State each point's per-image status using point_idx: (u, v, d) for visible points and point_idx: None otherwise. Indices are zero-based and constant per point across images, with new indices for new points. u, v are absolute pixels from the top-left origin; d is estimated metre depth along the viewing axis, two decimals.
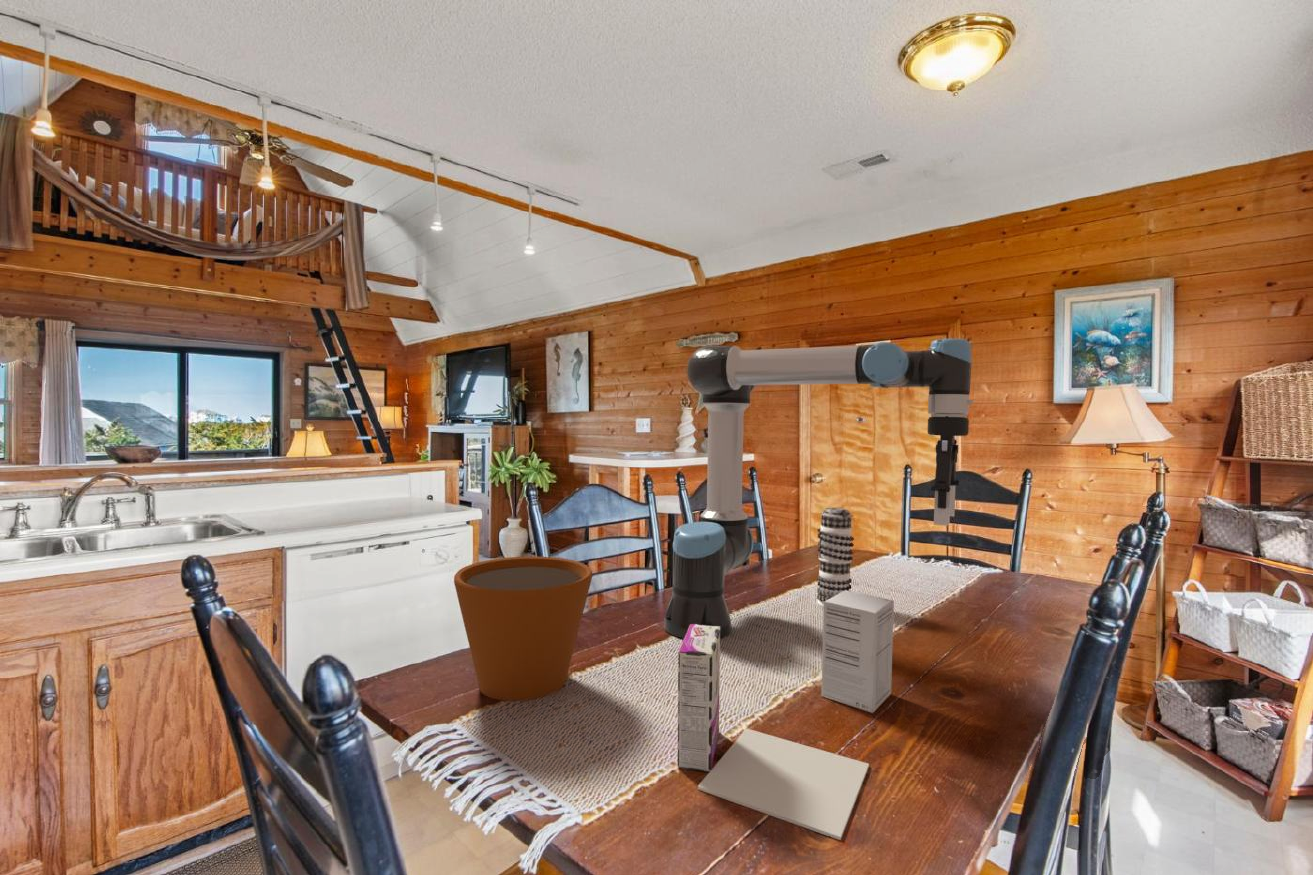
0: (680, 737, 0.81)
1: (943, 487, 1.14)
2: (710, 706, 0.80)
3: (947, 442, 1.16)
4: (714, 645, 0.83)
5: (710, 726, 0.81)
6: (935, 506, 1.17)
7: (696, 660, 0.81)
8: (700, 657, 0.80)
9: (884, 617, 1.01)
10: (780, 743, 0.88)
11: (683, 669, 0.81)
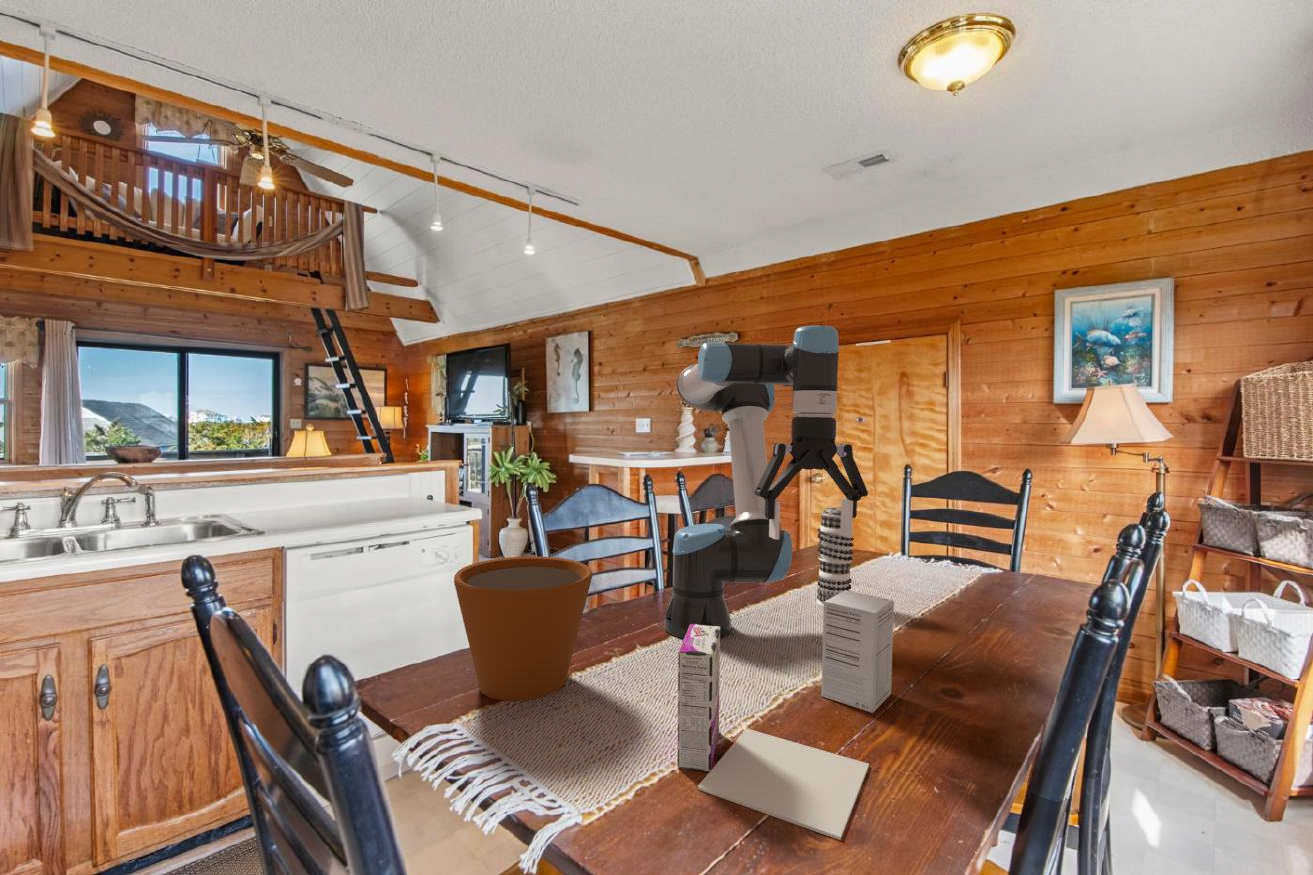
0: (680, 737, 0.81)
1: (758, 494, 1.03)
2: (710, 706, 0.80)
3: (778, 445, 1.03)
4: (714, 645, 0.83)
5: (710, 726, 0.81)
6: None
7: (696, 660, 0.81)
8: (700, 657, 0.80)
9: (884, 617, 1.01)
10: (780, 743, 0.88)
11: (683, 669, 0.81)
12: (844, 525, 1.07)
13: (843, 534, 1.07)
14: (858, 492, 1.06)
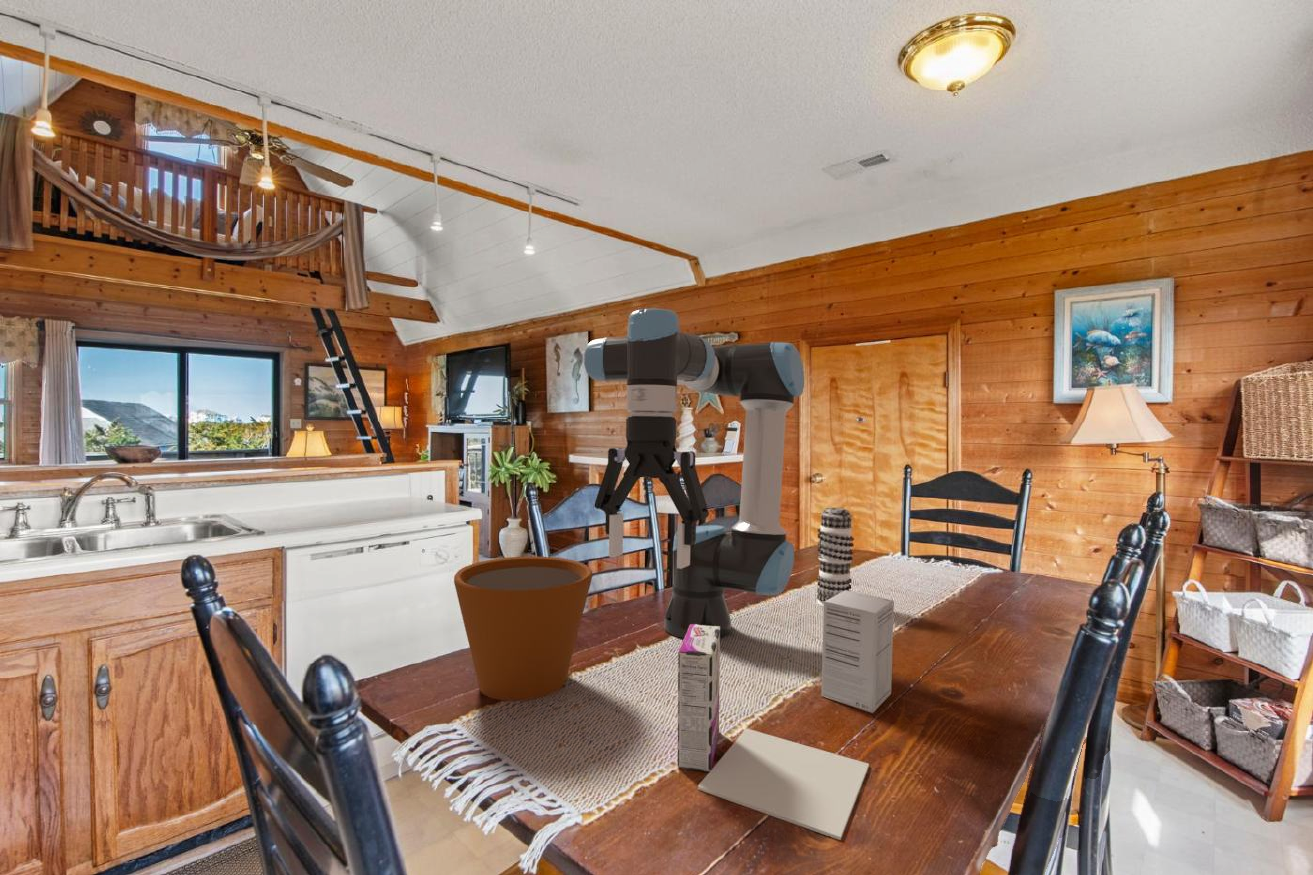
0: (680, 737, 0.81)
1: None
2: (710, 706, 0.80)
3: None
4: (714, 645, 0.83)
5: (710, 726, 0.81)
6: None
7: (696, 660, 0.81)
8: (700, 657, 0.80)
9: (884, 617, 1.01)
10: (780, 743, 0.88)
11: (683, 669, 0.81)
12: None
13: None
14: (693, 514, 0.86)
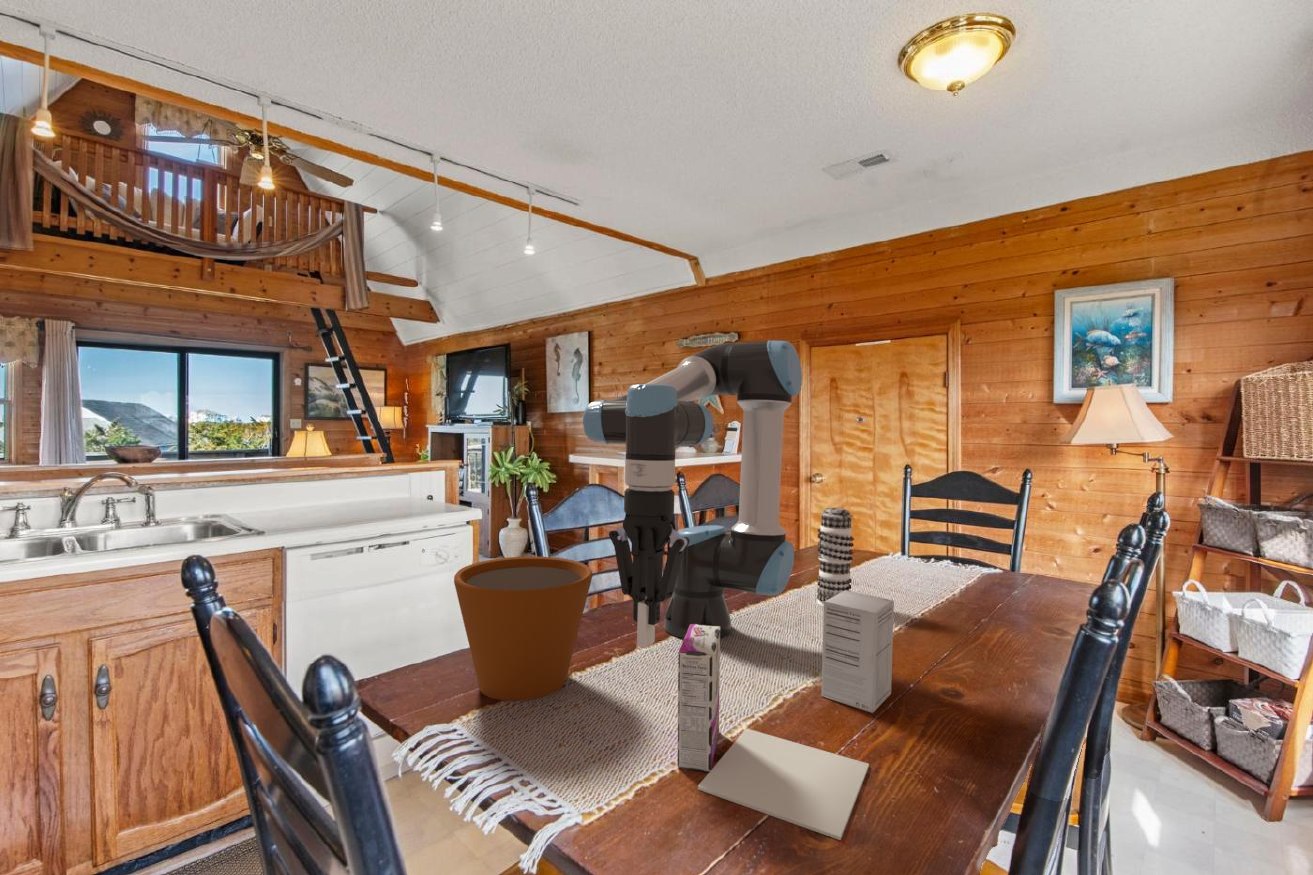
0: (680, 737, 0.81)
1: None
2: (710, 706, 0.80)
3: None
4: (714, 645, 0.83)
5: (710, 726, 0.81)
6: None
7: (696, 660, 0.81)
8: (700, 657, 0.80)
9: (884, 617, 1.01)
10: (780, 743, 0.88)
11: (683, 669, 0.81)
12: None
13: None
14: (657, 595, 0.89)
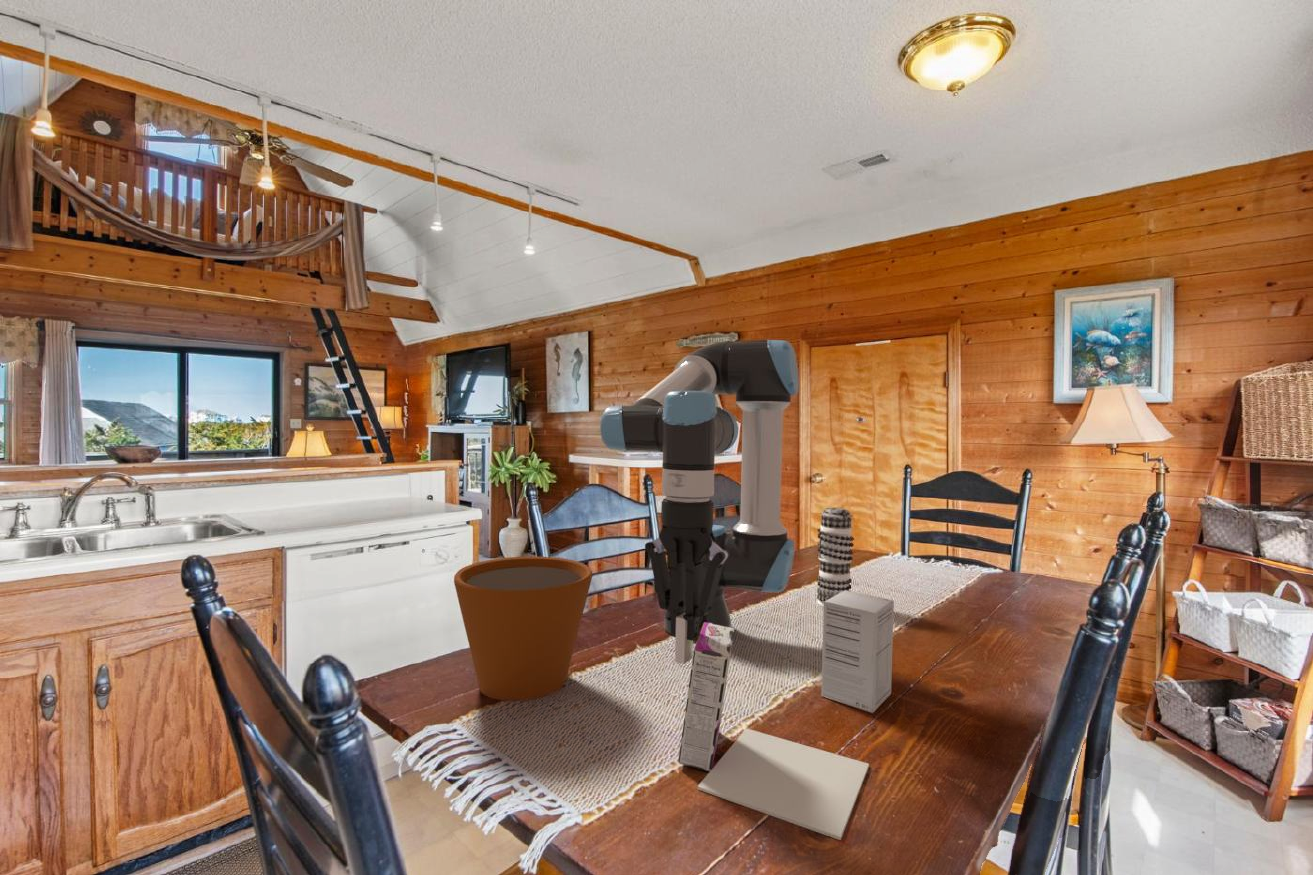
0: (685, 734, 0.81)
1: None
2: (719, 707, 0.80)
3: None
4: (729, 647, 0.83)
5: (716, 727, 0.80)
6: None
7: (711, 660, 0.80)
8: (716, 658, 0.80)
9: (884, 617, 1.01)
10: (780, 743, 0.88)
11: (697, 667, 0.81)
12: None
13: None
14: (696, 609, 0.85)
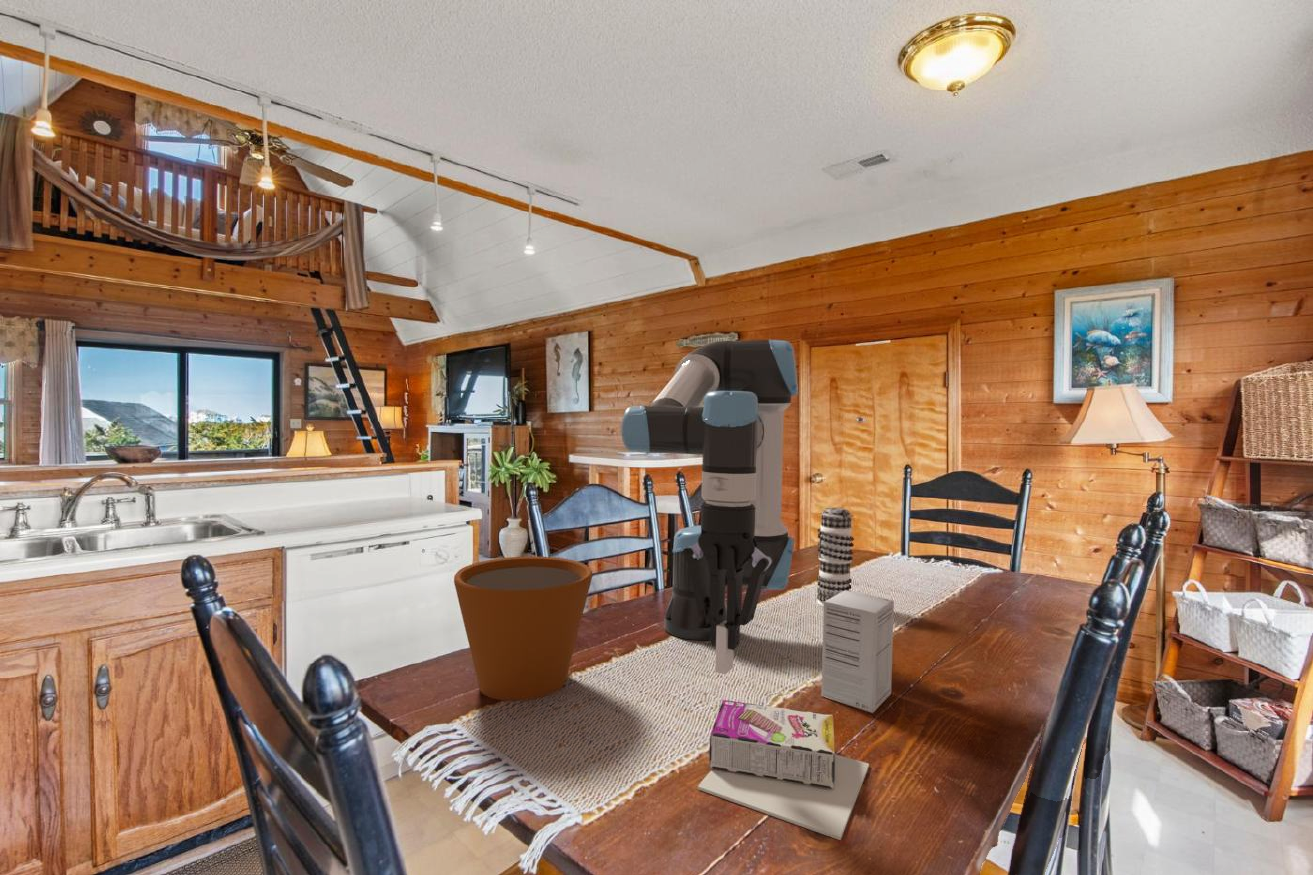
0: (741, 742, 0.80)
1: None
2: (777, 778, 0.79)
3: None
4: None
5: (756, 775, 0.79)
6: None
7: (826, 772, 0.77)
8: (829, 777, 0.77)
9: (884, 617, 1.01)
10: None
11: (815, 756, 0.77)
12: None
13: None
14: (737, 618, 0.82)
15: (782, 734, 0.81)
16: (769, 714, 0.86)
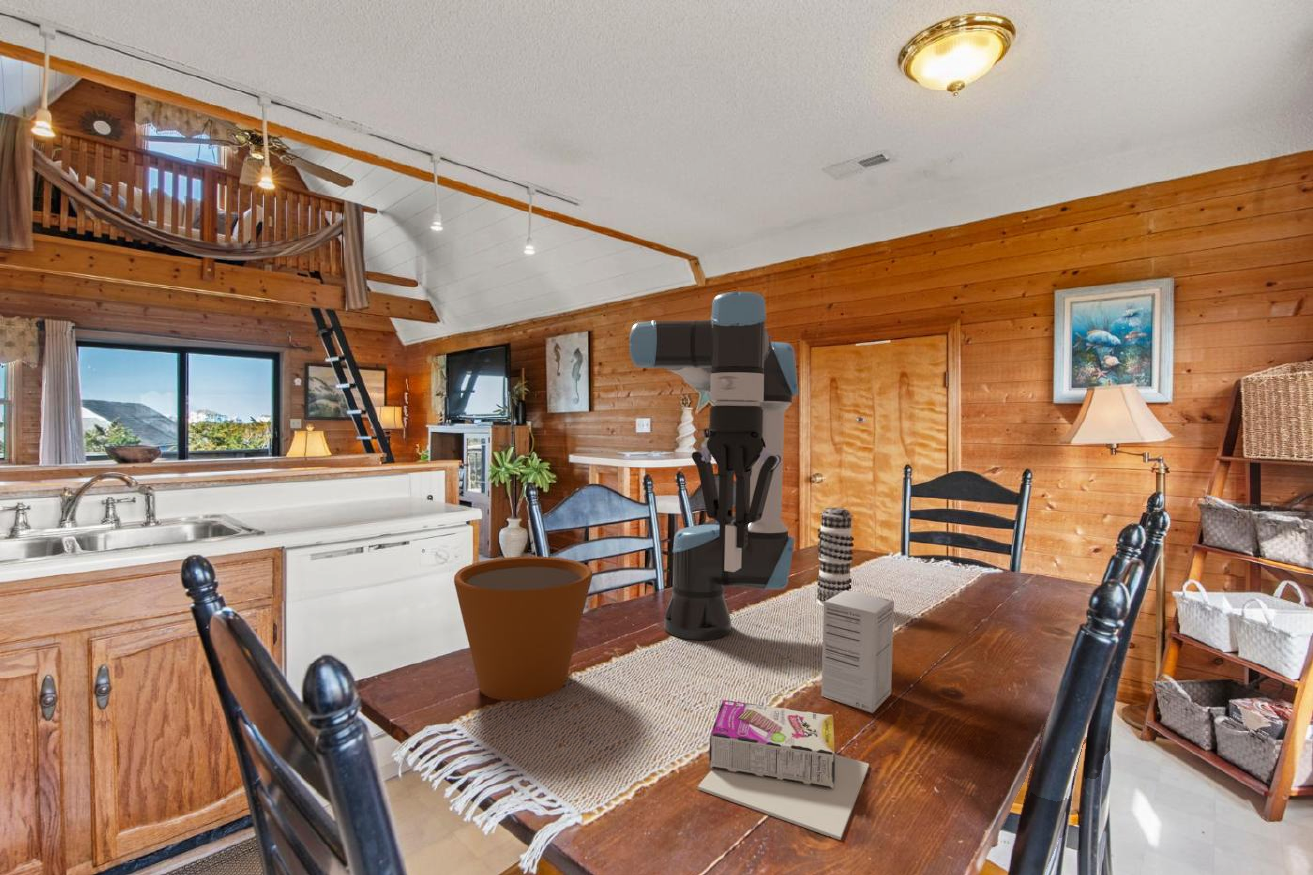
0: (741, 742, 0.80)
1: None
2: (777, 778, 0.79)
3: None
4: None
5: (756, 775, 0.79)
6: None
7: (826, 772, 0.77)
8: (829, 777, 0.77)
9: (884, 617, 1.01)
10: None
11: (815, 756, 0.77)
12: None
13: None
14: (746, 516, 0.84)
15: (782, 734, 0.81)
16: (769, 714, 0.86)
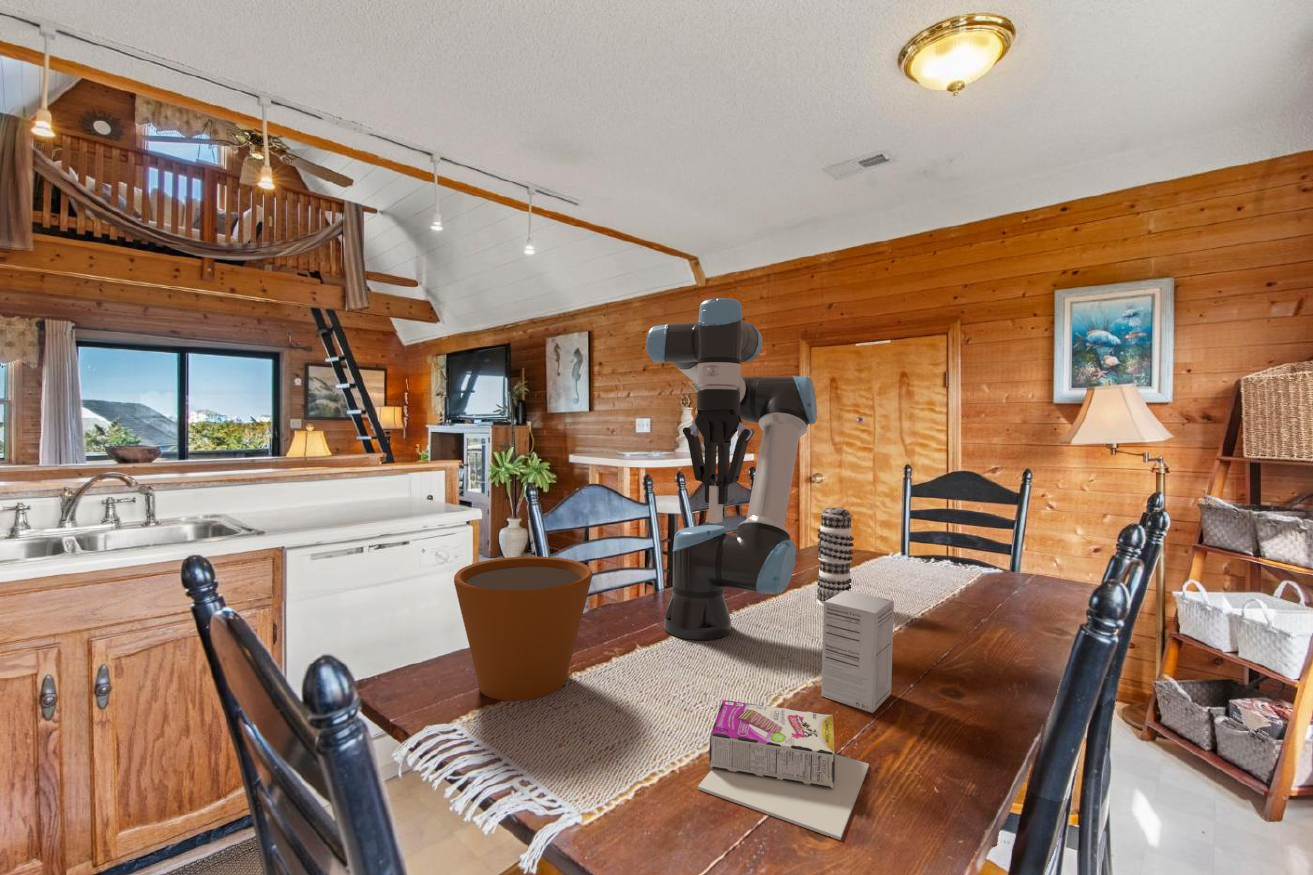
0: (741, 742, 0.80)
1: None
2: (777, 778, 0.79)
3: None
4: None
5: (756, 775, 0.79)
6: None
7: (826, 772, 0.77)
8: (829, 777, 0.77)
9: (884, 617, 1.01)
10: None
11: (815, 756, 0.77)
12: None
13: None
14: (726, 478, 1.05)
15: (782, 734, 0.81)
16: (769, 714, 0.86)
